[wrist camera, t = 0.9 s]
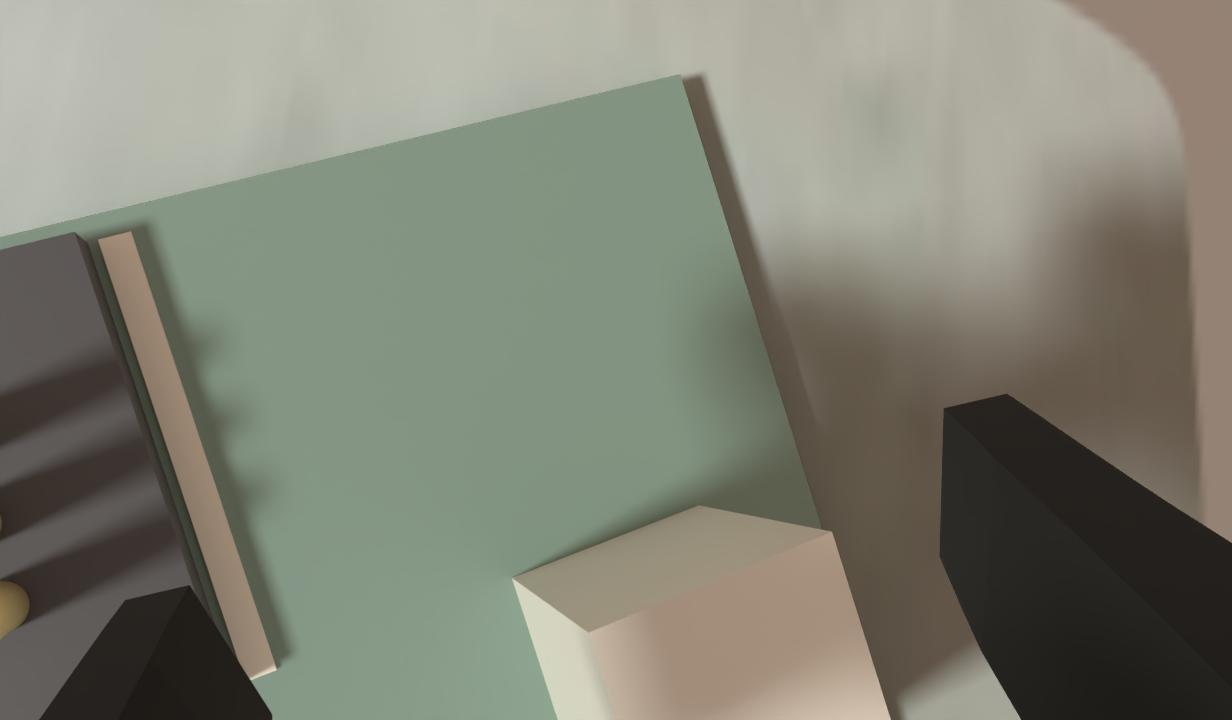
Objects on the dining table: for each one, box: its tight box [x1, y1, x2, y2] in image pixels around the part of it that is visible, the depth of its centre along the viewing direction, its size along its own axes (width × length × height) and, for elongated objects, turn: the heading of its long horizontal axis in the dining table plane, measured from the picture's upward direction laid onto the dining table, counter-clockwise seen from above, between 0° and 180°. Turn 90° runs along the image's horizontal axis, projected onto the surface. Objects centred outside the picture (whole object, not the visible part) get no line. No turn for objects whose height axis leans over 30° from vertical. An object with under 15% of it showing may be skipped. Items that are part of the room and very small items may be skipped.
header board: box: [0, 74, 823, 720], centre depth 19 cm, size 18×20×5 cm
